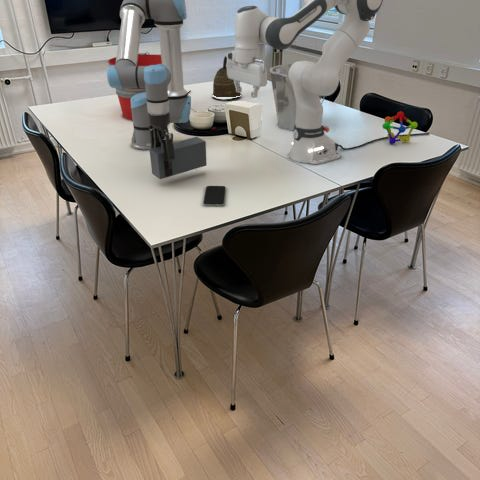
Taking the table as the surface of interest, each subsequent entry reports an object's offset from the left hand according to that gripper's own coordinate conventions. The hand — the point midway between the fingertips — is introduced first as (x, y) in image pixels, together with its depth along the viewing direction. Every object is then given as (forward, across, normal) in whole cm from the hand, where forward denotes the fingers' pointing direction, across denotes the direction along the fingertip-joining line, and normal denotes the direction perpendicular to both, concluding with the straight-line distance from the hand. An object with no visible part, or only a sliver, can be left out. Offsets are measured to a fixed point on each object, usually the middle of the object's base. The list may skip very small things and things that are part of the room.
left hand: (164, 172), depth 169 cm
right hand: (-25, -6, -35) cm, 43 cm away
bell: (+7, +90, -96) cm, 132 cm away
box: (+1, 0, -7) cm, 7 cm away
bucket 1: (+6, +87, -37) cm, 95 cm away
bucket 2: (+6, +22, -91) cm, 94 cm away
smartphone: (+4, -21, -8) cm, 23 cm away
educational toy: (+5, -27, -110) cm, 113 cm away
